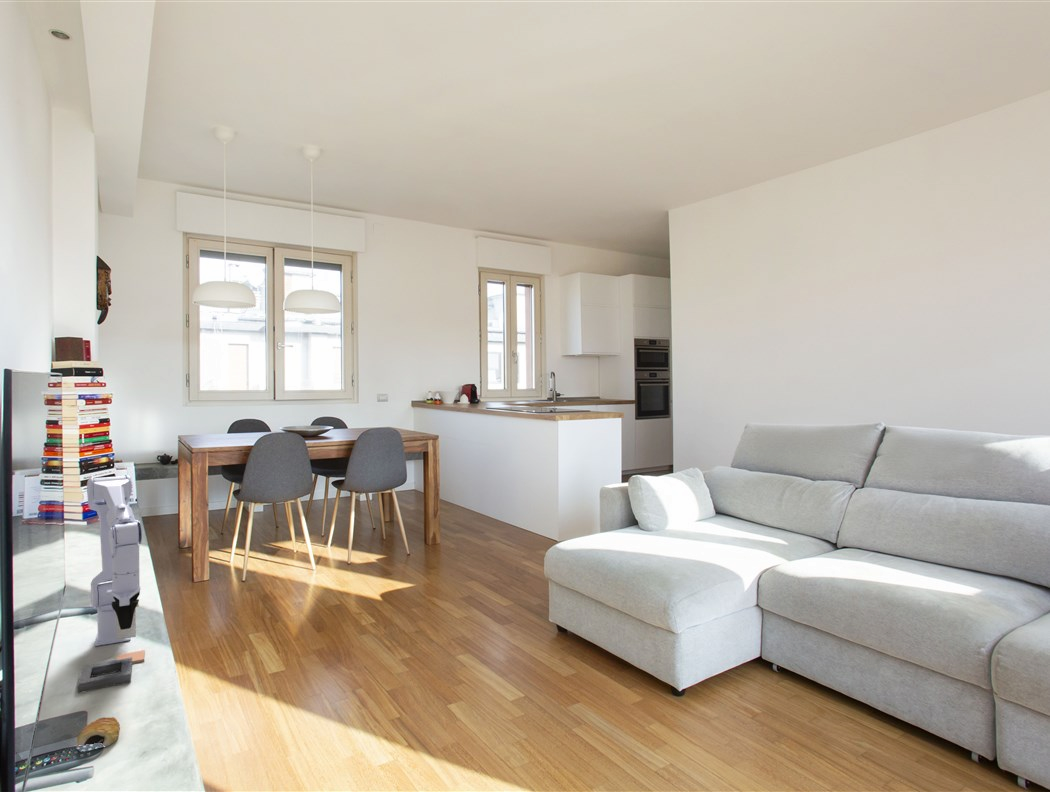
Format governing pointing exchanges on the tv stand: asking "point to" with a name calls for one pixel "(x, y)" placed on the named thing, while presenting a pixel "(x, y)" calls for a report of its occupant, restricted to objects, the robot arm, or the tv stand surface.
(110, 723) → the pastry
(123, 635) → the steel key
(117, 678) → the charcoal socket
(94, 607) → the robot arm
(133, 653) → the terracotta pad
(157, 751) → the tv stand surface
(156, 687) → the tv stand surface
